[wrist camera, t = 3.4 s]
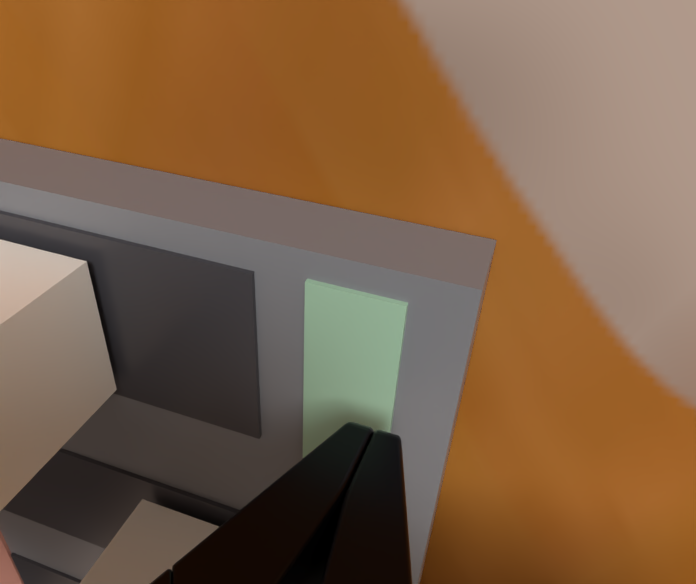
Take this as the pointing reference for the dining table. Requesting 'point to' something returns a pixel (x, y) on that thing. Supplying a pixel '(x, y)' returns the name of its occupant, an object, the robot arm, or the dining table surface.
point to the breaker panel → (234, 347)
